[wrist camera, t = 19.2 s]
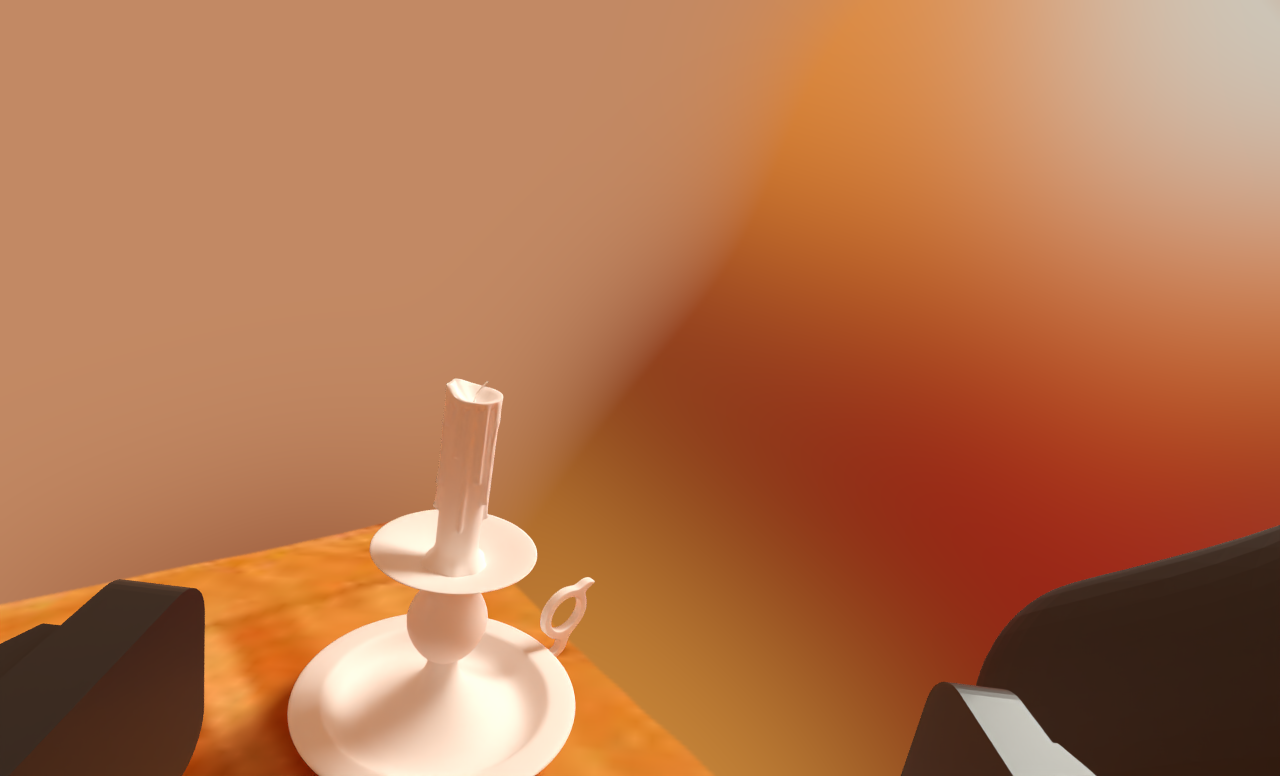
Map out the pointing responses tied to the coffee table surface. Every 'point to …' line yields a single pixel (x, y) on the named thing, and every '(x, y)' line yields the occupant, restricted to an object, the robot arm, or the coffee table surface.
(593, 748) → the coffee table surface
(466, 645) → the candlestick
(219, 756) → the coffee table surface
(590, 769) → the coffee table surface
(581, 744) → the coffee table surface
